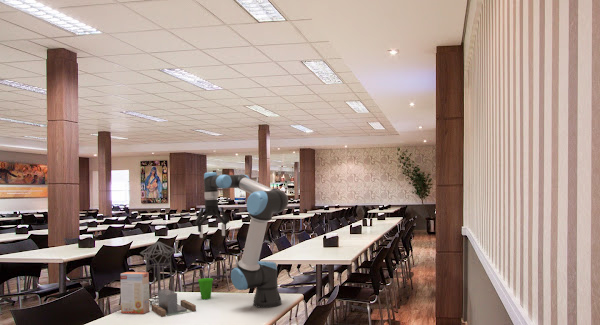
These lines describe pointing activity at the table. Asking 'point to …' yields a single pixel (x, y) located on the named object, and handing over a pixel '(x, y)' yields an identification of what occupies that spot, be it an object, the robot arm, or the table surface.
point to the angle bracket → (169, 302)
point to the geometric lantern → (158, 264)
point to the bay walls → (184, 304)
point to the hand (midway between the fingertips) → (212, 236)
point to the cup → (205, 287)
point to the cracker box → (135, 292)
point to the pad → (178, 313)
